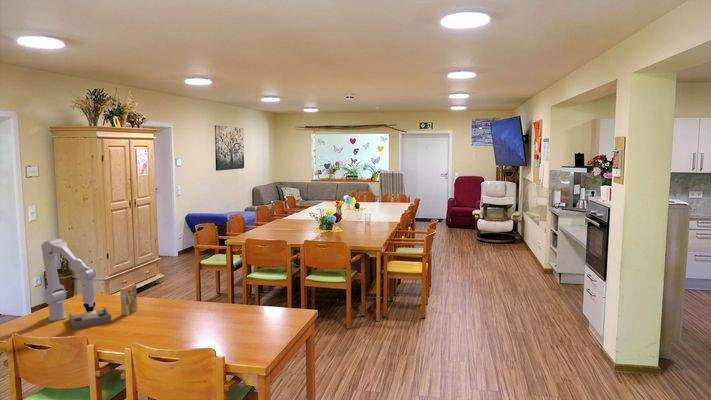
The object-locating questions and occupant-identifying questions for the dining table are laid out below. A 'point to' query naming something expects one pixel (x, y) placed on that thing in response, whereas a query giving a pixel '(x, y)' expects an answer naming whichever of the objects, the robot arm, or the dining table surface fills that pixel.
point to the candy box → (128, 299)
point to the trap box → (80, 321)
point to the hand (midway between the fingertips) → (90, 316)
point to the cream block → (90, 315)
